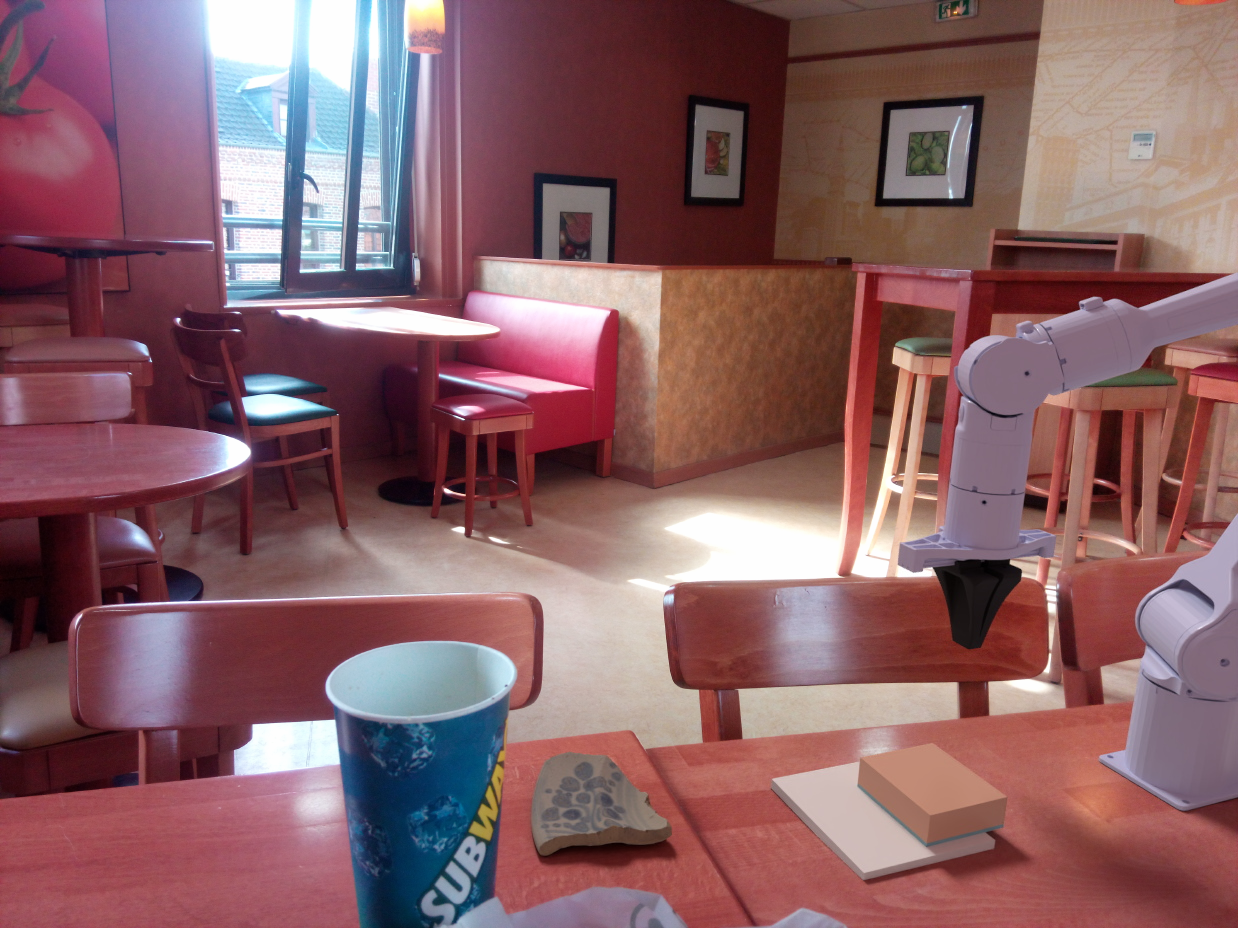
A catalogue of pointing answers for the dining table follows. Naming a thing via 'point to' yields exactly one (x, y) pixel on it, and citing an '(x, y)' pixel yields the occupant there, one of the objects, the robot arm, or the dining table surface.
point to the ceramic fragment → (590, 805)
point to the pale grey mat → (863, 824)
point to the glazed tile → (931, 794)
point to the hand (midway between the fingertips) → (966, 644)
